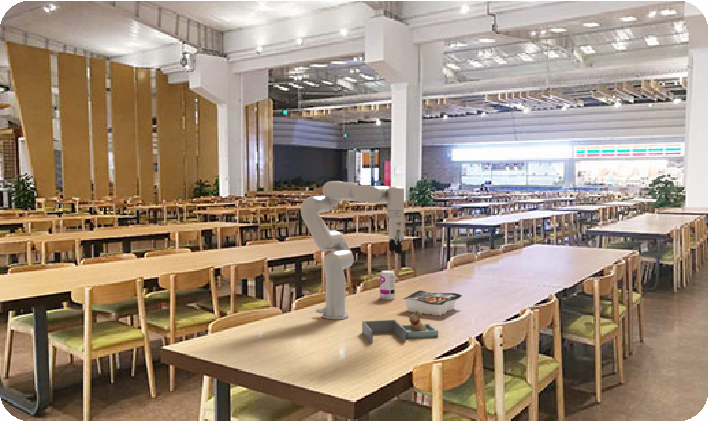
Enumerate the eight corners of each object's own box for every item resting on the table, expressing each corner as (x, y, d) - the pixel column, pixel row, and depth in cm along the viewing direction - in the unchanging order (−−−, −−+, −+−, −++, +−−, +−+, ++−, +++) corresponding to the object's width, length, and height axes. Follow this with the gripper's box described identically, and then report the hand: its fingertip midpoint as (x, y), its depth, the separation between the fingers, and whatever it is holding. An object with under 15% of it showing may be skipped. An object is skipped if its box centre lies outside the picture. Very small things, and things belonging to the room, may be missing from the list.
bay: (370, 343, 225) (370, 331, 225) (362, 332, 241) (362, 321, 241) (405, 341, 228) (405, 329, 228) (395, 331, 244) (395, 319, 244)
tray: (407, 338, 233) (407, 332, 233) (399, 330, 244) (399, 325, 244) (438, 336, 236) (438, 330, 235) (429, 329, 247) (429, 323, 247)
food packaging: (442, 303, 266) (400, 297, 278) (442, 318, 267) (400, 312, 279) (462, 294, 287) (421, 289, 299) (461, 308, 288) (421, 303, 300)
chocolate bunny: (419, 329, 244) (419, 306, 244) (428, 333, 237) (428, 310, 237) (408, 330, 242) (408, 307, 242) (417, 335, 235) (417, 311, 235)
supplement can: (382, 300, 305) (382, 273, 304) (378, 297, 313) (378, 270, 312) (396, 299, 307) (397, 272, 307) (391, 296, 315) (392, 270, 315)
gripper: (409, 215, 244) (409, 254, 245) (398, 212, 261) (398, 249, 262) (392, 215, 242) (392, 254, 243) (382, 213, 259) (382, 249, 260)
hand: (395, 252), depth 252 cm, fingers open, 9 cm apart
